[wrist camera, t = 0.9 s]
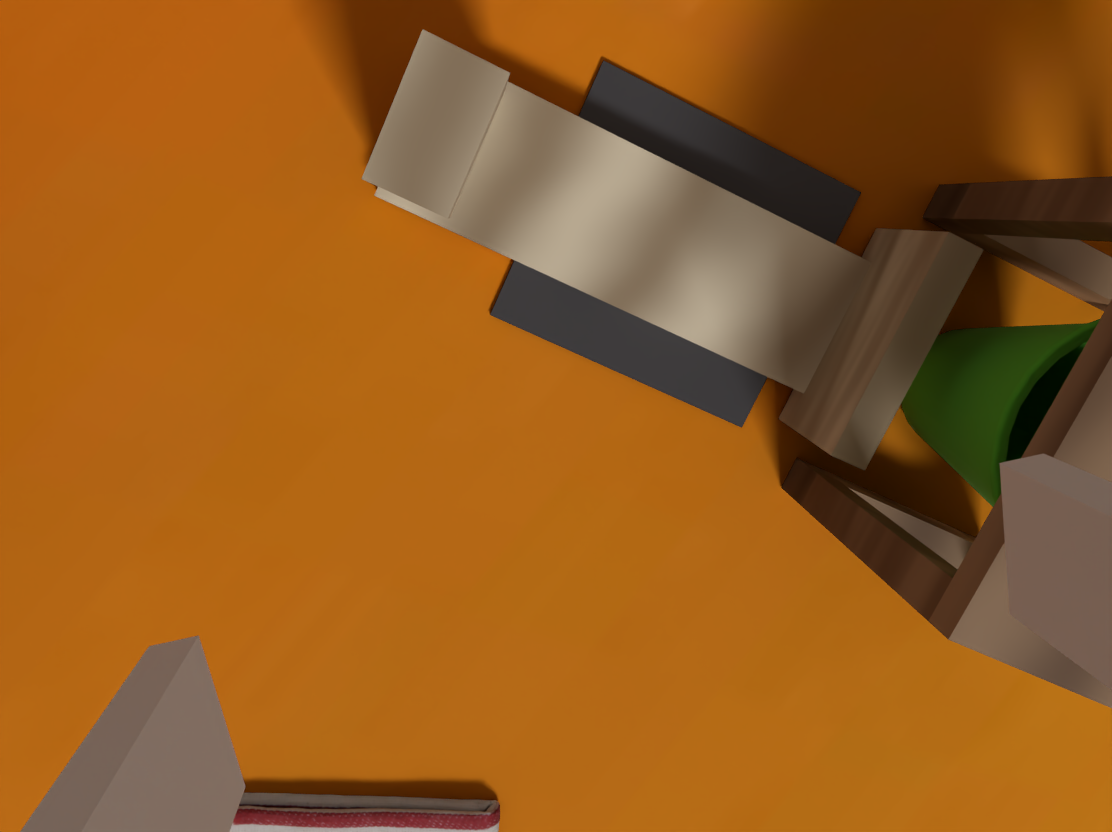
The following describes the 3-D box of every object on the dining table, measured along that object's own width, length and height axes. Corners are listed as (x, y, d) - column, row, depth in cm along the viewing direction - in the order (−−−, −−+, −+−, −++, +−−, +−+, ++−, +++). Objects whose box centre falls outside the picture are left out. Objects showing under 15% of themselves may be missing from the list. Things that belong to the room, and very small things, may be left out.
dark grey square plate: (490, 314, 38) (490, 314, 38) (602, 61, 36) (603, 60, 36) (740, 426, 40) (741, 427, 40) (859, 192, 38) (860, 192, 38)
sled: (363, 230, 36) (338, 236, 30) (452, 13, 35) (447, -34, 28) (807, 432, 40) (876, 478, 33) (906, 243, 38) (999, 251, 32)
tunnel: (781, 487, 41) (948, 639, 26) (939, 184, 38) (1217, 171, 24) (965, 568, 42) (1215, 751, 28) (1128, 283, 40) (1492, 325, 26)
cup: (943, 242, 39) (1123, 255, 28) (1090, 361, 41) (1310, 416, 30) (813, 411, 40) (938, 485, 29) (961, 520, 42) (1129, 627, 31)
